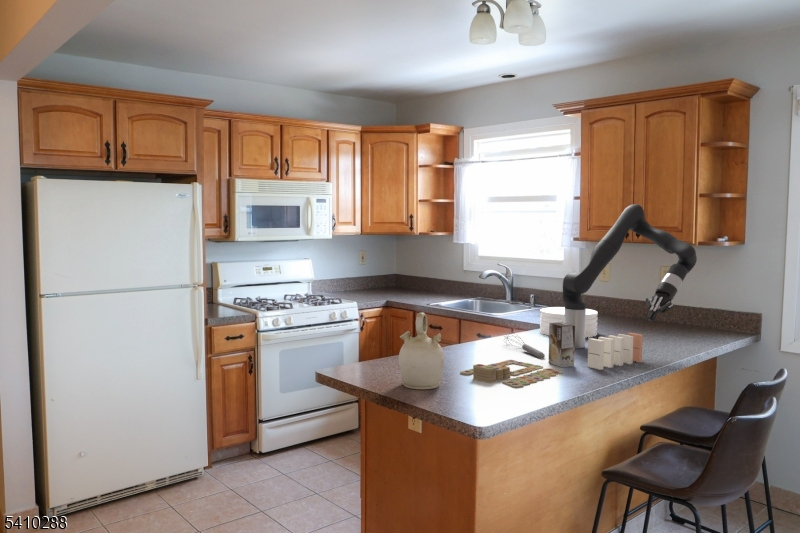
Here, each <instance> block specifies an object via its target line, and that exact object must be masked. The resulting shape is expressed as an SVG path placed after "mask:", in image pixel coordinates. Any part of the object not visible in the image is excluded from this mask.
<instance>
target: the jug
mask: <svg viewBox="0 0 800 533" xmlns="http://www.w3.org/2000/svg"><path fill="white" fill-rule="evenodd" d="M415 318H416V319H415V330H416V334H417V335H416V336H414V337H412V336H411V334H410V331H409V330H407V331H405V332H404V333H403V334H401V335H400V336H399V338H400V339H401V340H402V341H404V342H403V344H402V346H401V348H400V350H399V353H398V365H399V370H400V375H401V380H402V384H403V386H404V388H407V389H411V390H422V391H423V390H434V389H437V388H439V386H440V384H441V383H440V382H441V380H442V376H443V371H444V365H445V355H444V351H443V348H442V346H441V345H440V344H439V343H440V342H441V339H442V338H441V337H442V335H441V333H437V334H436V335H433V337H429V336H428V335H427V333H428V316H427V315H426V313H425V312H421V311H420V312H419V313H417V315H416V316H415Z"/></svg>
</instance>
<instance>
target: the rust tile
mask: <svg viewBox="0 0 800 533" xmlns="http://www.w3.org/2000/svg"><path fill="white" fill-rule="evenodd" d="M626 335H629V336H633V362H635V361H636V363H643V361H642V360H643V339H644V338H643V334H639V333H634V332H627V333H626Z"/></svg>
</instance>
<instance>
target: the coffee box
mask: <svg viewBox="0 0 800 533" xmlns="http://www.w3.org/2000/svg"><path fill="white" fill-rule="evenodd" d="M575 350H576V348H575V325H571V324H567V323H563V322H556V323H549V335H548V363H549V364H551V365H554V366H556V367H559V368H569V367H574V366H575Z"/></svg>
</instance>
